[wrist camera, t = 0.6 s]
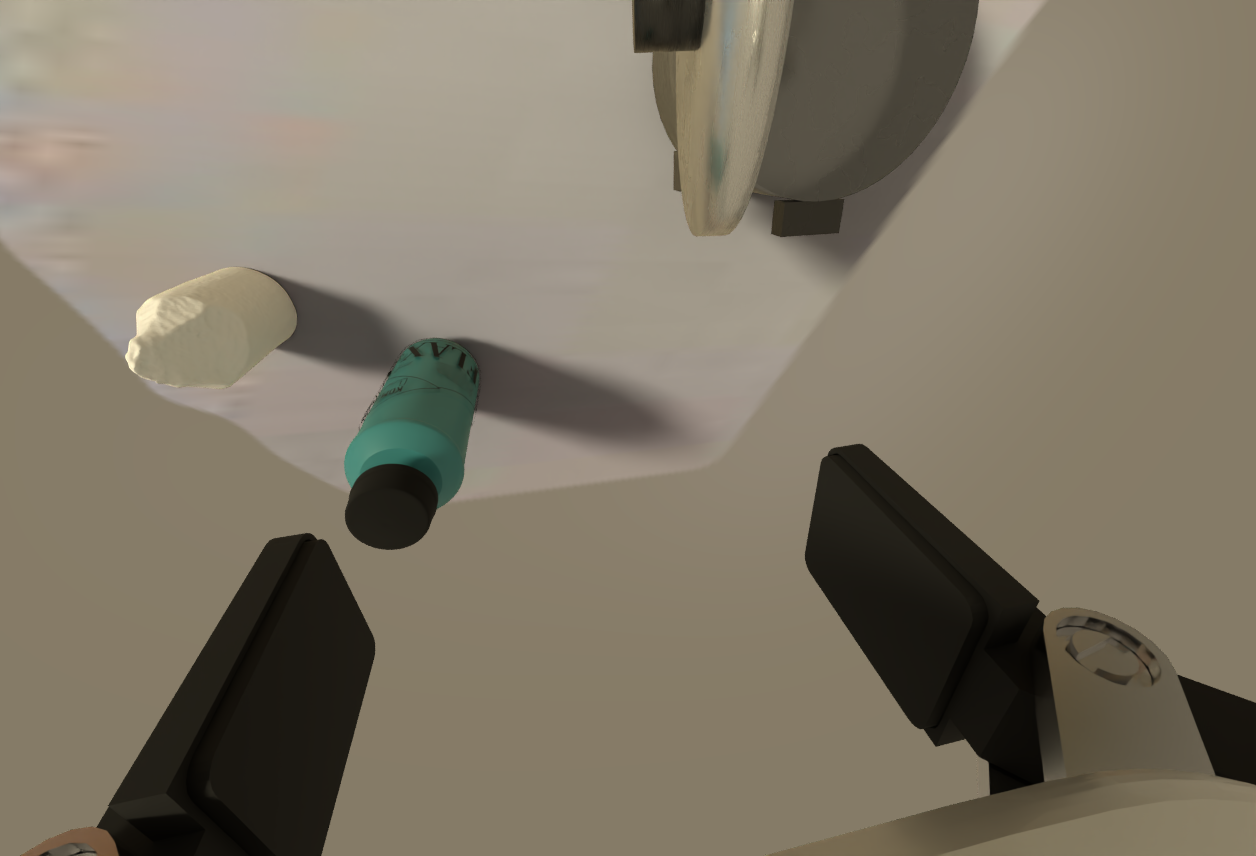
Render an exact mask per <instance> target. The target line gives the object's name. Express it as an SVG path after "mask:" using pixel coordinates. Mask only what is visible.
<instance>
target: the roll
mask: <svg viewBox="0 0 1256 856" xmlns="http://www.w3.org/2000/svg"><path fill="white" fill-rule="evenodd" d="M136 320H137V335H136V337H135V338H133V339H131V340H130V342H129V349H128V352H127V354H126V356H125V358H126V360H127V362H128V364H129V368H130V369H131V370H132V371H133V372H134V373H136V374H137V375H139V376H140V377H142V378H144V379H148V380H153V381H156V383H158V384H167V385H170V386H174V387H178V388H181V387H186V386H191V387H201V388H216V389H224V388H228V387H230V386H231V385H233V384H234V383H235V382H237V381H238V380H239V379H240V378H241V377H242V376H244V375H245V374H246V373H247V372H248V371H249V370H251V369H252V368H253V367H254V366H255V365H256V364H258V363H259V362H260V361H261V360H262V359H263V358H264V357H266V356H267V355H268V354H269V353H270V352H271V351H273V350H274V349H275V348H276V347H277V346H279V345H280V344H281V343H283V342H284V341H286V340H287V339H288V338H289V337H290V336H291V335H292V334H293V332H294V331H295V328H296V325H297V314H296V309H295V307H294V305H293V303H292V301H291V299H290V297H289V296H288V294H287V293H286V292H285V290H284V289H283V288H282V287H281V286H280V285H279V284H278V283H277V282H276V281H275V280H273V279H272V278H270V277H268V276H267V275H264V274H262V273H260V272H258V271H255V270H251V269H248V268H243V267H228V268H223V269H220V270H218V271H215V272H212V273H210V274H208V275H204V276H202V277H199V278H196V279H193V280H190V281H187V282H184V283H183V284H180V285H179V286H176V287H174V288H171V289H168V290H166V291H164V292H162V293H160V294H157V295H155V296H154V297H151V298H149V299H148V300H146V302H145V303H144V304H143V305H142V306H141V308H140V309H138V311H137V314H136Z"/></svg>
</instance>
